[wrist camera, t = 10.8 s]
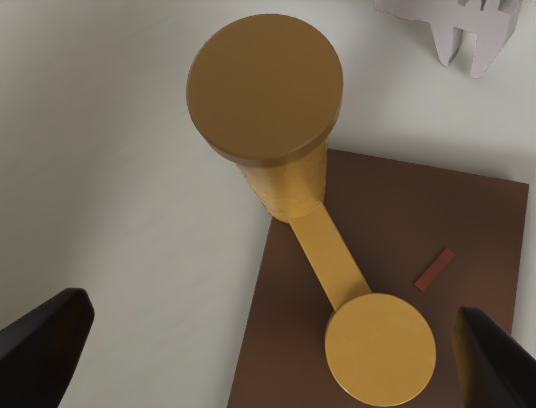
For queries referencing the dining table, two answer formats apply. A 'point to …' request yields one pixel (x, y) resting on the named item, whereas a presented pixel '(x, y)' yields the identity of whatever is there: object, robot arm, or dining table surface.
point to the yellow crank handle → (306, 188)
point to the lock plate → (383, 275)
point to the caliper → (461, 25)
